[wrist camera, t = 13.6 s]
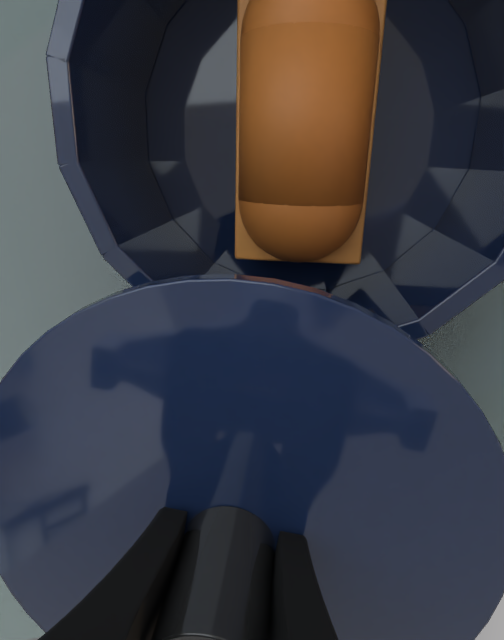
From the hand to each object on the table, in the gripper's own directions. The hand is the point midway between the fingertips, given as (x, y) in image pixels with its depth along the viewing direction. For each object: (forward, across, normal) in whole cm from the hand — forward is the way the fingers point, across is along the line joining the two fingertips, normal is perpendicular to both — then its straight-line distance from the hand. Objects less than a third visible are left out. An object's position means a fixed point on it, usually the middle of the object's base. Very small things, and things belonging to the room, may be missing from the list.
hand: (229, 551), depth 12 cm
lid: (+1, 0, 0) cm, 1 cm away
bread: (+9, 0, -11) cm, 14 cm away
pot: (+10, 0, -11) cm, 15 cm away
